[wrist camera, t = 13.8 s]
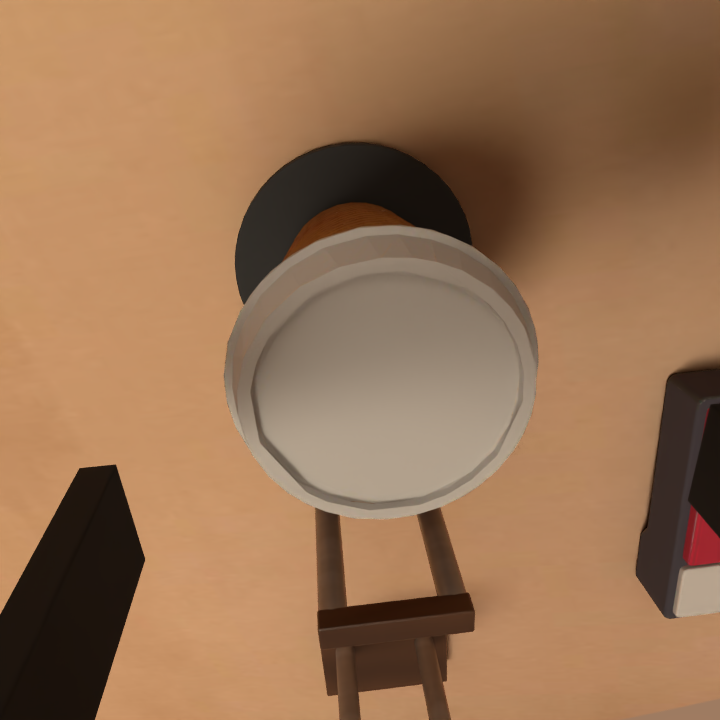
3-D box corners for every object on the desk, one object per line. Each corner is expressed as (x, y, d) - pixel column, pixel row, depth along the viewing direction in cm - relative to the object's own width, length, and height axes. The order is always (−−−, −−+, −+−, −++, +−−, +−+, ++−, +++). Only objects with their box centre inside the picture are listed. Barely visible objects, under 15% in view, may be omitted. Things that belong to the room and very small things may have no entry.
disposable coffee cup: (235, 174, 26) (186, 258, 15) (457, 154, 26) (566, 221, 15) (267, 372, 30) (248, 548, 19) (457, 352, 30) (542, 513, 20)
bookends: (288, 405, 31) (282, 562, 22) (440, 389, 32) (501, 537, 22) (326, 676, 41) (334, 868, 31) (442, 661, 42) (485, 847, 32)
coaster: (216, 153, 26) (215, 155, 25) (471, 132, 26) (475, 133, 26) (254, 379, 31) (253, 385, 30) (468, 358, 31) (471, 363, 31)
